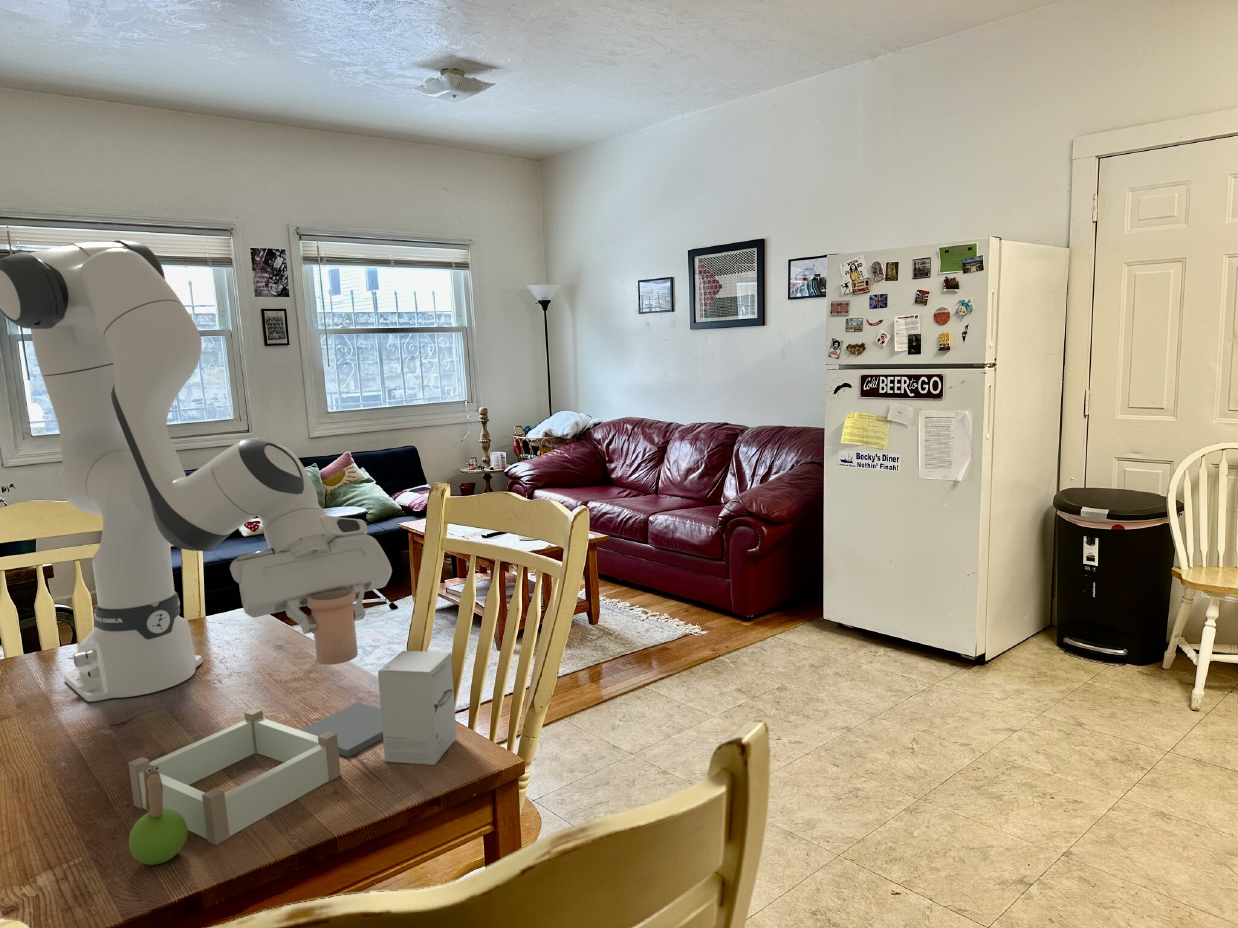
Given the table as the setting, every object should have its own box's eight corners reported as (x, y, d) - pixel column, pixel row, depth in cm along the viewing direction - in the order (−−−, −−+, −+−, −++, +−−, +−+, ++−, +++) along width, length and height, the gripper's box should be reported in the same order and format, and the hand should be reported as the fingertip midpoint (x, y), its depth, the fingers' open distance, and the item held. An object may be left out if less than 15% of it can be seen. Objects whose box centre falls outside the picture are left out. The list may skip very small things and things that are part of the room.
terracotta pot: (303, 661, 112) (296, 596, 111) (339, 646, 117) (333, 583, 116) (335, 668, 109) (328, 601, 108) (370, 652, 114) (364, 588, 113)
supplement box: (436, 766, 105) (429, 672, 104) (383, 762, 107) (375, 669, 105) (459, 739, 112) (452, 650, 111) (408, 736, 114) (401, 648, 112)
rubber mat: (295, 739, 114) (294, 732, 114) (357, 708, 124) (357, 702, 123) (348, 757, 109) (347, 750, 108) (409, 723, 118) (409, 716, 118)
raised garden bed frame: (134, 805, 99) (128, 762, 98) (259, 745, 113) (254, 707, 112) (216, 845, 90) (210, 798, 89) (340, 774, 104) (336, 733, 103)
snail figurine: (136, 887, 83) (121, 776, 82) (129, 857, 88) (115, 752, 87) (195, 865, 86) (182, 758, 85) (185, 838, 92) (173, 736, 90)
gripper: (228, 544, 109) (260, 632, 103) (374, 518, 122) (409, 594, 116) (223, 570, 113) (252, 656, 107) (365, 542, 126) (398, 618, 120)
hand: (335, 624), depth 112 cm, fingers closed on terracotta pot, 5 cm apart
